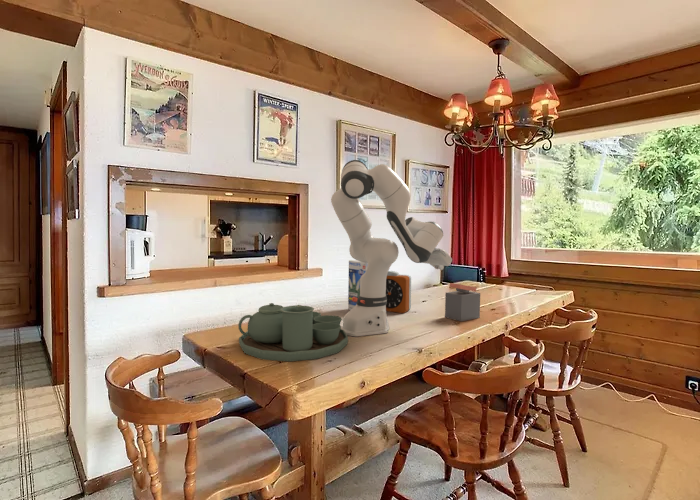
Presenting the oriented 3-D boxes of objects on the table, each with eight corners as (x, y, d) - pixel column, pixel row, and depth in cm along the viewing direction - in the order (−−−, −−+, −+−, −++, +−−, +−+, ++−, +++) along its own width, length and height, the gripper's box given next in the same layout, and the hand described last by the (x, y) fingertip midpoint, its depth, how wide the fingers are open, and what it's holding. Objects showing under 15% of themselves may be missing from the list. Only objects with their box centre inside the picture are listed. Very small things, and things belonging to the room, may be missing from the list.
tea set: (368, 345, 154) (369, 301, 153) (279, 372, 126) (279, 319, 125) (303, 325, 182) (303, 288, 181) (219, 344, 154) (218, 300, 153)
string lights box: (347, 309, 213) (347, 260, 212) (358, 307, 218) (358, 259, 217) (365, 314, 204) (365, 262, 202) (376, 311, 209) (376, 261, 207)
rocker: (460, 291, 190) (461, 284, 190) (448, 289, 196) (450, 282, 196) (475, 294, 196) (476, 287, 196) (464, 292, 202) (465, 285, 202)
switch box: (461, 321, 189) (461, 295, 189) (445, 317, 198) (445, 292, 197) (479, 317, 197) (480, 293, 196) (463, 313, 205) (464, 290, 204)
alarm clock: (371, 309, 213) (372, 270, 212) (378, 306, 221) (379, 269, 220) (405, 313, 205) (406, 272, 203) (411, 310, 212) (411, 271, 211)
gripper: (445, 243, 173) (461, 265, 179) (413, 241, 190) (428, 261, 196) (437, 254, 171) (453, 276, 177) (405, 251, 188) (420, 271, 194)
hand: (439, 268), depth 187 cm, fingers closed
